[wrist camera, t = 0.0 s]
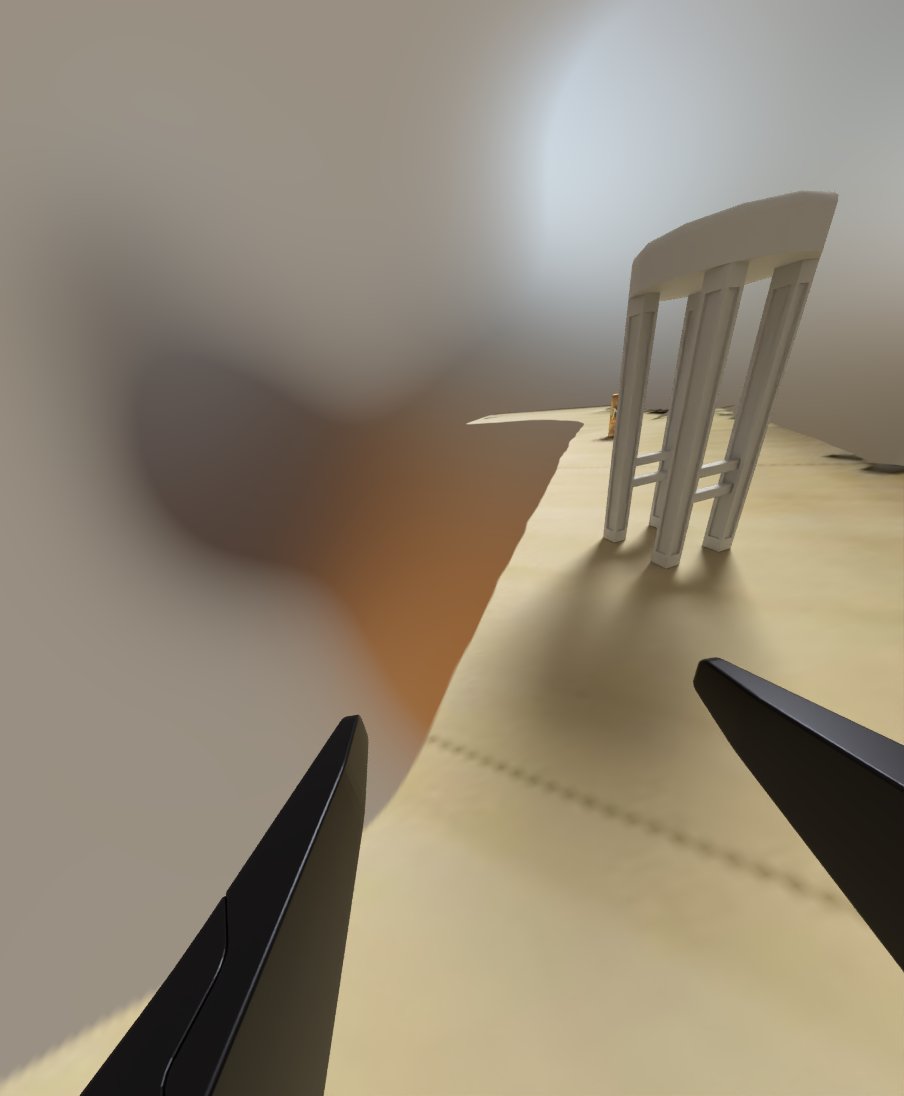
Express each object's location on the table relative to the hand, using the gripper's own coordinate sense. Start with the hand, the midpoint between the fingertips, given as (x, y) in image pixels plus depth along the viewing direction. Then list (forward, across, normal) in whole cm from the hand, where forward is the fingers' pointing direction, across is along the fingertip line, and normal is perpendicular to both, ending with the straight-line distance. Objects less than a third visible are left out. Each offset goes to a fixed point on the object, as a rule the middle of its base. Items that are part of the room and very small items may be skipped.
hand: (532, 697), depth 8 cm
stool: (+35, -31, +17) cm, 49 cm away
